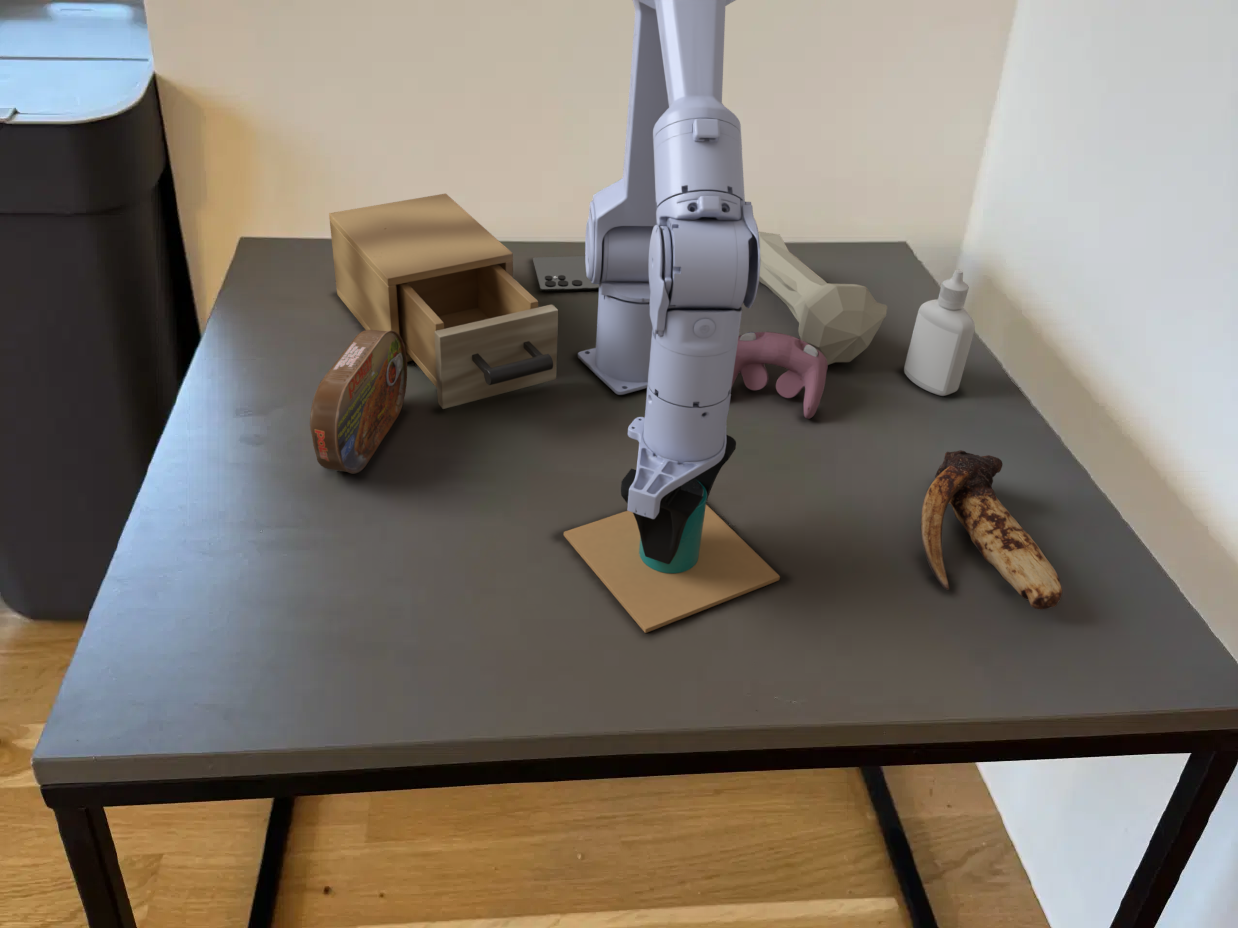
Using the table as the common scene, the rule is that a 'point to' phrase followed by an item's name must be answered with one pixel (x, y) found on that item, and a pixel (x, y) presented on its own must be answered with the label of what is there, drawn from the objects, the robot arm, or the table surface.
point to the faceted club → (820, 303)
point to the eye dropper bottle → (941, 339)
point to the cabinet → (405, 252)
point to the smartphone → (562, 274)
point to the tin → (359, 400)
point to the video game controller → (786, 352)
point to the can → (684, 536)
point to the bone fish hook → (985, 528)
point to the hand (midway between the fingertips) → (672, 537)
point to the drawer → (477, 334)
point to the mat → (665, 595)
